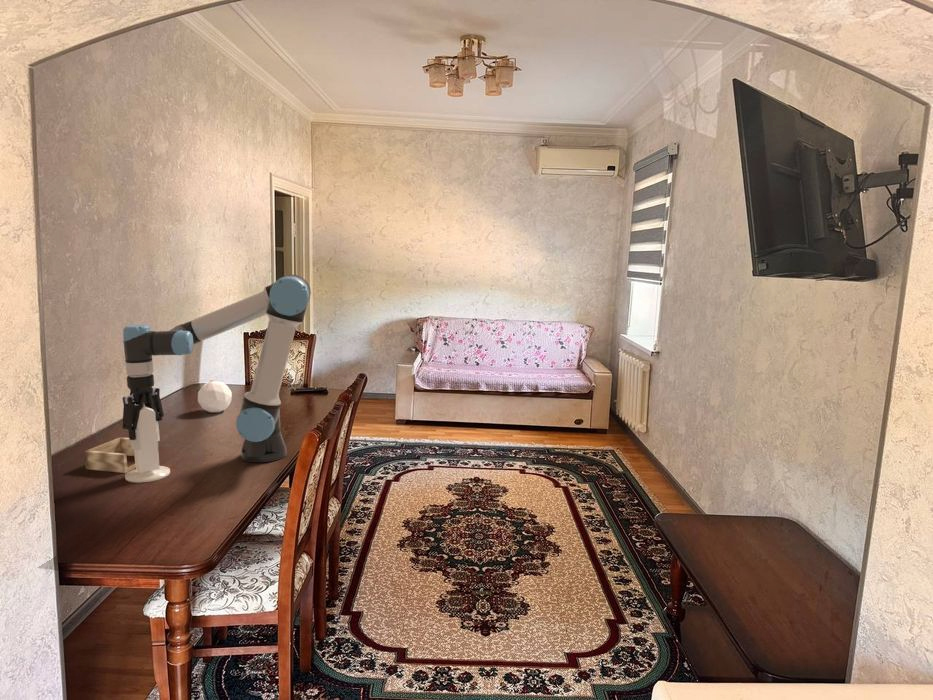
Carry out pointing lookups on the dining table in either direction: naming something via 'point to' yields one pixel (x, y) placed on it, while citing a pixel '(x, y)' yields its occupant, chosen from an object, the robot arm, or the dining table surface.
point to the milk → (147, 441)
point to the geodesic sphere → (214, 396)
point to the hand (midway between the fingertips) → (145, 444)
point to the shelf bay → (110, 456)
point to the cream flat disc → (147, 475)
